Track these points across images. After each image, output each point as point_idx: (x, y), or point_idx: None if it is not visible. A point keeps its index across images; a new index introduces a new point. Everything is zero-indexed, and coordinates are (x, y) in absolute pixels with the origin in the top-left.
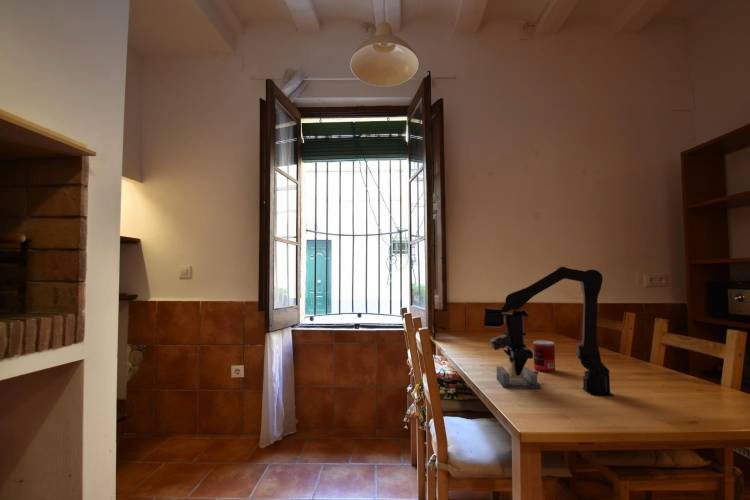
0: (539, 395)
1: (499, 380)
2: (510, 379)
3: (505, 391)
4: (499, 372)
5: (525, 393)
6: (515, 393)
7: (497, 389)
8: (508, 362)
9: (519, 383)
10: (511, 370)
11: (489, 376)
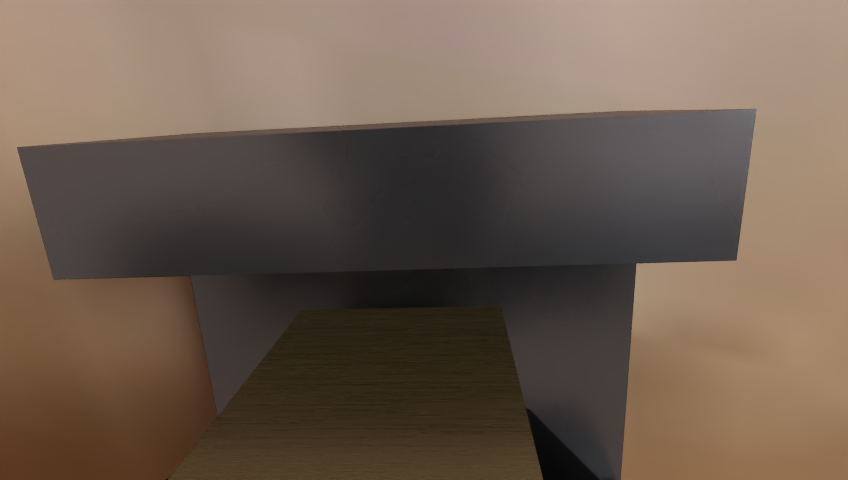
0: (36, 459)
1: (436, 121)
2: (435, 293)
3: (38, 125)
4: (410, 125)
5: (49, 345)
6: (5, 235)
7: (88, 26)
8: (529, 469)
9: (256, 366)
10: (259, 377)
11: (796, 7)
